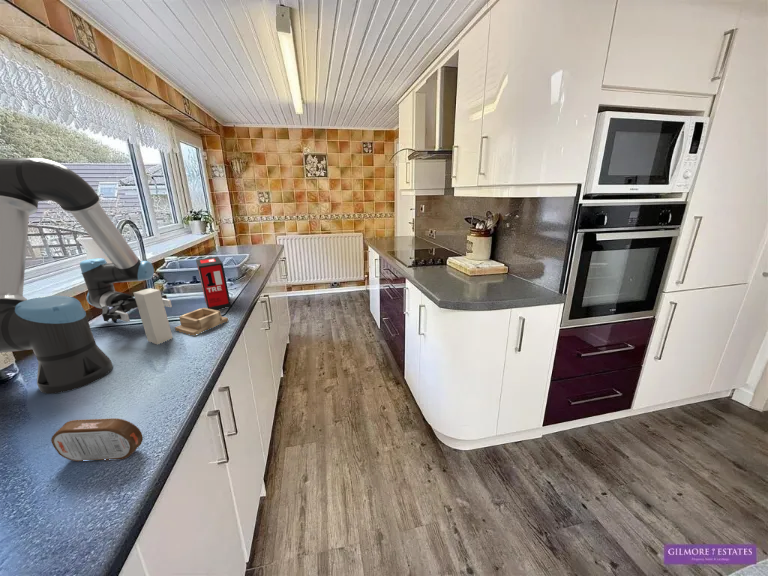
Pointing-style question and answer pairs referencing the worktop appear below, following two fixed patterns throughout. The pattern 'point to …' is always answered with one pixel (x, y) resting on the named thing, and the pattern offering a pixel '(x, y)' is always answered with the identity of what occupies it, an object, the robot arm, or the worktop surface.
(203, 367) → the worktop surface
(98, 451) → the tin
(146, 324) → the white rectangular block
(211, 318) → the wooden box
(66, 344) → the robot arm
